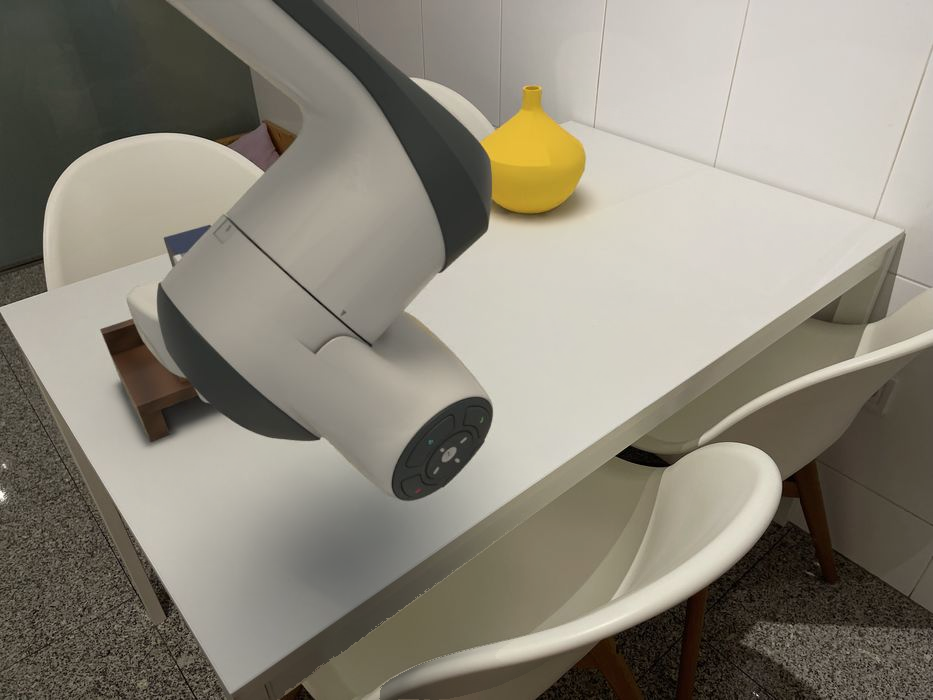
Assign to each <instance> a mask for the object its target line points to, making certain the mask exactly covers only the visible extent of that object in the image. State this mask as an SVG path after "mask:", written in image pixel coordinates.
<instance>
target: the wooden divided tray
mask: <svg viewBox="0 0 933 700" xmlns="http://www.w3.org/2000/svg"><path fill="white" fill-rule="evenodd" d="M99 331H100V333H101V335H102V338H103V341H104V343H105V345H106V348H107V350H108V353H109V356H110V359H111V361H112V363H113V364H114V368H115V370H116V373H117V375H118V377H119V380H120V384H121V385H122V387H123V389H124V392H125V393H126V395H127V397H128V399H129V402H130V404H131V405H132V407H133V409H134V411H135V413H136V415H137V417H138V419H139V421H140V423H141V425H142V428H143V430H144V432H145V433H146V435H147V437H148V440H149V442H154V441H157V440H158V439H162V438H165V437H166V436H169V435H170V431H169V428H168V426H167V423H166V421H165V418H164V416H163V413H162V410H164V409H166V408H169V407H171V406H174V405H176V404H179V403H182V402H184V401H187V400H189V399H191V398H194V397H197V396H199V395H198V393H197V392H196V390H195V388H194V386H193V385H192V384H191V383H190V382H189V380H188V379H187V378H184V377H180V376H177V375H175V374H174V373H172V372H170V371H169V370H168V369H167V368H166V367H165V366H164V365H163V364H162V363H161V362H160V361H159V360H158V359H157V358H156V357H155V356H154V355H153V354H152V352H151V351H150V350H149V349H148V347H147V346H146V345H145V343H144V342H143V340H142V338H141V337H140V335H139V333H138V330H137V328H136V326H135V323H134V321H133V318H129V319H127V320H124V321H120V322H118V323H115V324H111V325H109V326H105V327H102V328H100V329H99Z"/></svg>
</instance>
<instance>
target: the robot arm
mask: <svg viewBox="0 0 933 700" xmlns="http://www.w3.org/2000/svg"><path fill="white" fill-rule="evenodd" d="M164 1H165V2H166V3H168V4H169V5H171V6H172V7H173V8H175V9H176V10H177V11H179V12H180V13H181V14H182V15H184V16H185V17H186V18H187V19H189V20H190V21H191V22H193V23H194V24H195V25H196V26H197V27H198V28H201V29H202V31H204V32H205V33H206V34H208V35H209V36H210V37H212V38H213V39H214V40H216V42H218V43H219V44H220V45H222V46H223V47H224V48H225V49H227V50H228V51H229V52H230V53H232V54H233V55H234V56H235V57H237V58H238V59H239V60H241V61H242V62H243V63H245V64H246V65H247V66H248V67H249V68H251V69H252V70H254V71H255V72H256V73H257V74H259V75H260V76H261V77H262V78H264V79H265V80H266V81H267V82H269V83H270V84H271V85H272V86H273V87H275V88H276V89H277V90H279V92H281V93H282V94H284V95H285V96H286V97H288V98H289V99H290V100H291V101H293V102H294V103H295V104H296V105H297V107H298V108H299V110H300V114H301V125H300V128H299V132H298V134H297V136H296V138H295V139H294V140H293V142H292V143H291V144H290V145H289V146H288V147H287V149H285V150H284V152H283V153H282V154H281V155H280V156H279V157H278V158H277V159H276V160H275V161H274V162H273V163H272V164H271V165H270V167H268V168H267V169H266V171H265V172H264V173H263V174H261V176H260V177H259V178H258V179H257V180H256V181H255V182H254V183H253V184H252V185H251V186H250V187H249V189H248V190H247V191H246V192H245V193H244V194H243V195H242V196H241V197H240V198H239V199H238V200H237V201H236V202H235V203H234V204H233V205H232V206H231V208H230V209H229V210H228V211H227V212H226V213H223V214H221V216H220V217H219V218H218V219H217V220H216V221H215V222H214V223H213V224H212V225H211V227H210V228H209V229H208V230H207V232H206V233H205V234H204V235H203V236H202V237H201V238H200V239H199V240H198V241H197V242H196V243H195V244H194V245H193V246H192V247H191V248H190V250H189V251H188V252H186V253H182V254H178V255H175V256H173V259H174V262H175V266H174V267H172V268H171V269H170V270H169V272H168V273H167V274H166V275H165V276H164V277H161V278H158V279H155V280H153V281H149V282H146V283H142V284H139V285H137V286H135V287H134V288H133V289H132V290H130V291H129V293H128V294H127V296H126V303H127V306H128V310H129V312H130V315H131V319H133V321H134V323H135V326H136V328H137V330H138V333H139V335H140V337H141V338H142V340H143V342H144V343H145V345H146V346H147V347H148V349H149V350H150V351H151V352H152V354H153V355H154V356H155V357H156V358H157V359H158V360H159V361H160V362H161V363H162V364H163V365H164V366H165V367H166V368H167V369H168V370H169V371H170V372H172V373H174V374H175V375H177V376H180V377H184V378H187V379H188V380H189V382H190V383H191V384H192V385H193V386H194V388H195V390H196V392H197V393H198V395H197V396H198V397H199V398H200V400H201V401H202V402H203V403H205V404H209V405H211V406H212V407H213V408H214V409H216V411H218V412H219V413H221V414H222V415H223V416H224V417H226V418H227V419H229V420H230V421H232V422H233V423H234V424H236V425H238V426H239V427H242V428H243V429H245V430H248V431H250V432H251V433H254V434H256V435H259V436H263V437H265V438H270V439H276V440H285V441H295V442H296V441H297V442H314V441H315V442H316V441H321V439H322V438H324V439H325V440H326V441H327V442H328V443H329V444H330V445H331V446H332V447H333V448H334V449H335V450H336V451H337V452H338V453H339V454H340V456H342V457H343V458H344V459H345V460H346V461H347V462H348V463H349V464H350V465H351V466H352V467H353V468H355V470H356V471H358V472H359V474H361V475H362V476H363V477H365V478H366V479H367V480H368V481H369V482H370V483H371V484H373V485H374V486H375V487H376V488H377V489H379V490H380V491H381V492H382V493H384V494H385V495H387V496H389V497H391V498H392V499H394V500H395V501H400V502H411V501H418V500H420V499H424V498H426V497H428V496H430V495H432V494H434V493H435V492H438V491H439V490H440V489H442V488H444V487H446V486H448V484H450V482H452V481H453V480H454V479H455V477H456V476H458V474H459V473H460V472H461V471H463V469H464V468H466V466H467V465H468V464H469V463H470V462H471V461H472V459H473V458H474V457H475V455H476V454H477V453H478V452H479V450H480V449H481V448H482V446H483V445H484V443H485V441H486V438H487V437H488V434H489V432H490V430H491V427H492V423H493V418H494V406H493V402H492V399H491V397H490V396H489V394H488V393H487V391H486V390H485V388H484V387H483V386H482V384H481V383H480V382H479V380H478V379H477V378H476V376H475V374H473V373H472V371H471V370H470V369H469V368H468V367H467V366H466V365H465V363H464V362H463V361H462V360H461V358H459V357H458V356H457V354H456V353H455V352H454V351H453V350H452V349H451V348H450V347H449V346H448V345H447V344H446V343H445V342H444V341H443V340H442V339H441V338H440V337H439V336H438V335H437V334H435V332H433V331H432V330H431V329H430V328H429V327H428V326H427V325H426V324H424V323H423V322H422V321H421V320H419V318H417V317H416V316H414V315H413V314H411V313H410V312H407V311H405V310H406V309H407V308H408V307H409V305H410V304H411V303H412V302H413V301H414V300H415V299H416V298H417V297H418V296H419V295H420V293H421V292H422V291H424V289H425V288H426V287H427V286H428V284H430V283H431V281H432V280H434V278H435V277H436V276H437V275H438V274H442V273H444V271H446V270H447V269H448V268H449V267H450V266H451V265H452V264H453V263H454V262H455V261H456V260H458V259H459V257H461V256H462V255H463V254H464V253H465V252H466V251H467V250H469V249H470V248H471V247H472V246H473V245H474V244H475V243H476V242H477V241H478V240H479V239H481V238H482V237H483V236H484V235H485V234H486V233H487V232H488V230H489V225H490V219H491V211H492V201H493V199H492V171H491V161H490V158H489V156H488V154H487V152H486V151H485V149H484V148H483V146H482V145H481V144H480V141H479V140H478V138H477V136H476V135H475V133H474V132H473V131H472V130H471V128H470V127H469V126H468V125H467V124H466V123H465V122H464V121H463V120H462V118H461V117H459V116H458V114H456V113H455V111H453V110H452V109H451V108H450V107H448V106H447V105H446V104H444V103H443V102H442V101H441V100H439V99H438V98H437V97H435V96H434V95H433V94H431V93H430V92H428V91H427V90H425V89H424V88H422V87H421V86H420V85H419V84H417V82H415V81H414V80H413V79H412V78H410V77H409V76H408V75H406V74H405V73H404V72H403V71H402V70H400V69H399V68H398V67H397V66H396V65H394V64H393V63H392V62H391V61H390V60H388V59H387V57H385V56H384V55H383V54H382V53H381V52H380V51H378V49H377V48H375V47H374V46H373V45H372V44H371V43H370V42H369V41H368V40H366V39H365V37H363V35H361V34H360V33H359V32H358V31H357V30H356V29H354V27H353V26H352V25H351V24H350V23H349V22H348V21H346V20H345V19H344V17H342V16H341V14H339V13H338V12H337V11H336V10H335V9H333V8H332V6H330V5H329V4H328V2H326V1H325V0H164Z"/></svg>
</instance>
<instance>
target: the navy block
mask: <svg viewBox="0 0 933 700" xmlns="http://www.w3.org/2000/svg"><path fill="white" fill-rule="evenodd" d="M211 226H212V225H211V224H206V225H203V226H200V227H196V228H193V229H189V230H185V231H182V232H177V233H175V234H172V235H168V236H164V237H163V240H164V244H165V247H166V250H167V254H168V257H169V260H170V264H171V267H172V268H173V267H174V266H175V262H174V259H173V256H175V255H178V254H182V253H186V252H188V251H189V250H190V248H191V247H192V246H193V245H194V244H195V243H196V242H197V241H198V240H199V239H200V238H201V237H202V236H203V235H204V234H205V233H206V232H207V230H208V229H209V228H210V227H211Z"/></svg>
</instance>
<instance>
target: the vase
mask: <svg viewBox="0 0 933 700" xmlns="http://www.w3.org/2000/svg"><path fill="white" fill-rule="evenodd" d="M542 91H543V89H542V87H541V86H539V85H525V86H523V87H522V105H521V108H520V109H519V110H518V112H517V113H516V114H515V115H513V117H511V118H510V119H508V120H507V121H506V122H505V123H504V124H502V125H501V126H500V127H498V128H497V129H496V130H494V131H493V132H491V133H490V134H488V135H486V137H484V138H483V139H482V140H481V141H479V143H480V144H481V145H482V146H483V148H484V149H485V151H486V152H487V154H488V156H489V158H490V161H491V171H492V201H493V202H495V203H496V204H497V205H499V206H500V207H502V208H504V209H505V210H508V211H510V212H514V213H519V214H525V215H526V214H530V215H531V214H542V213H545V212H549V211H550V210H553V209H555V208H557V207H558V206H560V205H561V204H563V203H564V202H565V201H566V200H567V199H568V198H569V197H570V196H571V195H572V194H574V191H575V189H576V188H577V187H578V184H579V182H580V180H581V178H582V176H583V175H584V172H585V170H586V169H585V168H586V161H587V160H586V159H587V157H586V151H585V148H584V145H583V143H582V142H581V141H580V140H579V139H578V138H577V137H575V136H574V135H573V134H571V133H570V132H568V131H567V129H565V128H564V127H562V125H560V124H559V123H557V122H556V121H555V120H554V119H553V118H551V116H549V115H548V114H547V113H546V112H545V110H544V109H543V107H542V106H543V105H542Z"/></svg>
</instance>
